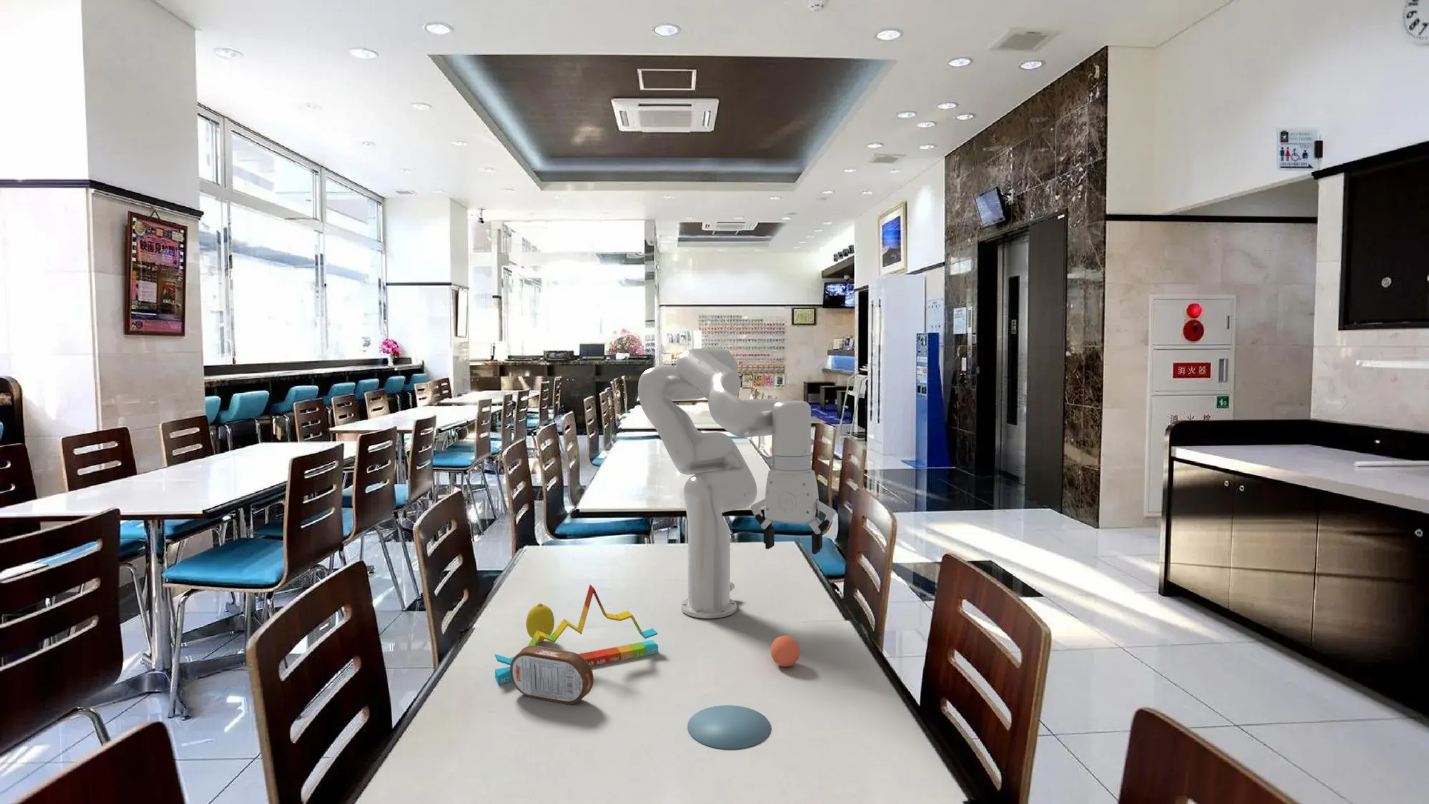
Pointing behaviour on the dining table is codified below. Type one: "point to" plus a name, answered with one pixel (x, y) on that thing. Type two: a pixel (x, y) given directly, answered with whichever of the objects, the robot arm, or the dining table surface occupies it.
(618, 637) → the dining table surface
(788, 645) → the ball
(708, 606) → the robot arm
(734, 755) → the dining table surface
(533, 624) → the lemon
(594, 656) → the chart
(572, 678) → the tin
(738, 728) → the disc
